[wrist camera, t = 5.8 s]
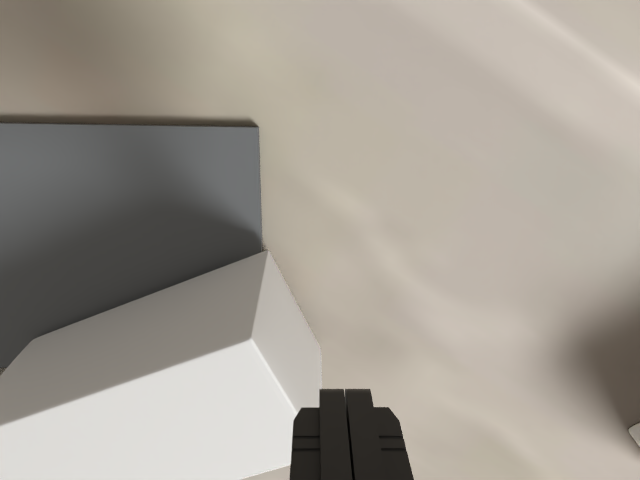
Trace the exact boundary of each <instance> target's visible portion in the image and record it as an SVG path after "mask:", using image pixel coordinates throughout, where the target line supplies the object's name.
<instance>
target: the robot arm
mask: <svg viewBox="0 0 640 480" xmlns="http://www.w3.org/2000/svg"><path fill="white" fill-rule="evenodd" d="M290 480H414V479H413V475H412V471H411V467H410V463H409V459H408V455H407V452H406V447H405V443H404V439H403V434H402V430H401V426H400V422H399V420H398V419H397V417H396V416H395V415H394V414H393V412H392V411H391V410H390V409H389V407H373V402H372V396H371V391H370V389H345V397H344V389H319V407H301V409H300V411H299V412H298V414H297V416H296V417H295V419H294V420H293V435H292V452H291V468H290Z"/></svg>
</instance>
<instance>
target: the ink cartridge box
mask: <svg viewBox="0 0 640 480" xmlns="http://www.w3.org/2000/svg"><path fill="white" fill-rule="evenodd" d="M629 433H630V434H631V436H632V437H633V438H634V440H635V441H636V443H637V444H638V445H639V447H640V423H638V424H636V425H634V426H632V427H631V428H629Z"/></svg>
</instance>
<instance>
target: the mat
mask: <svg viewBox="0 0 640 480" xmlns="http://www.w3.org/2000/svg"><path fill="white" fill-rule="evenodd" d="M261 252H263V251H262V218H261V185H260V153H259V127H250V126H187V125H124V124H61V123H0V368H7V367H8V366H9V365H10V364H11V363H12V362H13V360H14V359H15V358H16V357H17V356H18V355H19V354H20V353H21V351H22V350H23V349H24V348H25V347H26V346H27V345H28V344H29V343H30V342H31V341H32V340H33V339H35V338H37V337H40V336H42V335H45V334H47V333H50V332H52V331H55V330H58V329H60V328H63V327H66V326H68V325H71V324H73V323H76V322H79V321H81V320H84V319H87V318H89V317H92V316H95V315H97V314H100V313H102V312H105V311H108V310H110V309H113V308H116V307H118V306H121V305H124V304H126V303H129V302H131V301H134V300H137V299H139V298H142V297H145V296H147V295H150V294H153V293H155V292H158V291H160V290H163V289H166V288H168V287H171V286H174V285H176V284H179V283H182V282H184V281H187V280H189V279H192V278H195V277H197V276H200V275H203V274H205V273H208V272H211V271H213V270H216V269H218V268H221V267H224V266H226V265H229V264H232V263H234V262H237V261H240V260H242V259H245V258H247V257H250V256H253V255H255V254H258V253H261Z"/></svg>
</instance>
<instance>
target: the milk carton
mask: <svg viewBox="0 0 640 480" xmlns="http://www.w3.org/2000/svg"><path fill="white" fill-rule="evenodd" d="M319 389H322V362H321V348H320V346H319V344H318V342H317V340H316V338H315V336H314V334H313V332H312V331H311V329H310V327H309V325H308V323H307V321H306V319H305V317H304V315H303V313H302V312H301V310H300V308H299V306H298V304H297V302H296V300H295V298H294V296H293V295H292V293H291V291H290V289H289V287H288V285H287V283H286V281H285V279H284V278H283V276H282V274H281V272H280V270H279V268H278V266H277V264H276V263H275V261H274V259H273V257H272V255H271V253H270V251H269V250H266V251H263V252H261V253H258V254H255V255H253V256H250V257H247V258H245V259H242V260H240V261H237V262H234V263H232V264H229V265H226V266H224V267H221V268H218V269H216V270H213V271H211V272H208V273H205V274H203V275H200V276H197V277H195V278H192V279H189V280H187V281H184V282H182V283H179V284H176V285H174V286H171V287H168V288H166V289H163V290H160V291H158V292H155V293H153V294H150V295H147V296H145V297H142V298H139V299H137V300H134V301H131V302H129V303H126V304H124V305H121V306H118V307H116V308H113V309H110V310H108V311H105V312H102V313H100V314H97V315H95V316H92V317H89V318H87V319H84V320H81V321H79V322H76V323H73V324H71V325H68V326H66V327H63V328H60V329H58V330H55V331H52V332H50V333H47V334H45V335H42V336H40V337H37V338H35V339H33V340H32V341H31V342H30V343H29V344H28V345H27V346H26V347H25V348H24V349H23V350H22V351H21V353H20V354H19V355H18V356H17V357H16V358H15V359H14V360H13V362H12V363H11V364H10V365H9V366H8V367H7V368H6V370H5V371H4V372H3V373H2V374H1V375H0V480H240V479H244V478H247V477H250V476H254V475H257V474H261V473H264V472H268V471H271V470H275V469H278V468H282V467H285V466H288V465H291V452H292V435H293V420H294V419H295V417H296V416H297V414H298V412H299V411H300V409H301V407H319Z"/></svg>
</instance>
